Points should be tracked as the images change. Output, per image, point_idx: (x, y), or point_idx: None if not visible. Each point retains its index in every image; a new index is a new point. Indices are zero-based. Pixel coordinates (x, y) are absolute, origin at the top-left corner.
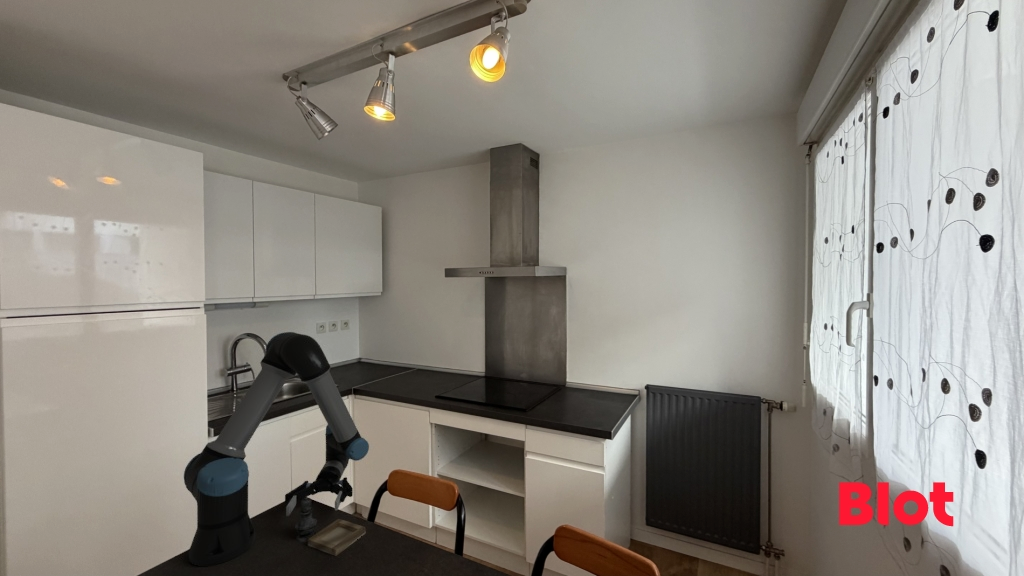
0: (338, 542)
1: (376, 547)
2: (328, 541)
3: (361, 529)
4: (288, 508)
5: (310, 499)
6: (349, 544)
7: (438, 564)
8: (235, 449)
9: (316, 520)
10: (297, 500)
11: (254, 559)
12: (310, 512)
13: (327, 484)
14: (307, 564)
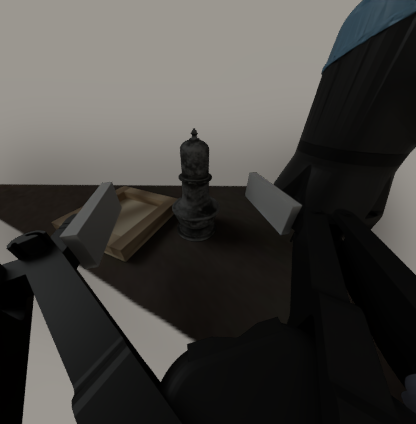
0: (123, 207)
1: (54, 206)
2: (142, 209)
3: (64, 217)
4: (249, 178)
5: (182, 144)
6: None
7: None
8: None
9: (175, 212)
10: (294, 243)
11: (241, 192)
12: (180, 174)
13: (198, 367)
14: (164, 187)
